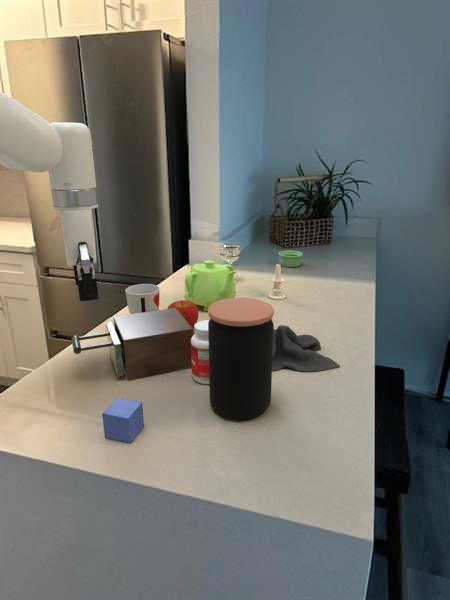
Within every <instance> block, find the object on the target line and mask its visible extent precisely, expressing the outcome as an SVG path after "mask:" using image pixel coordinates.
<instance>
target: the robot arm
mask: <svg viewBox="0 0 450 600" xmlns="http://www.w3.org/2000/svg"><path fill="white" fill-rule="evenodd" d="M93 151H94V150H93V141H92V135H91V130H90V128H89V127H88V126H87V125H86V124H84V123H81V122H51V123H50V122H48V121H47V120H46V119H44V118H43V117H42V116H40V115H39V114H37V113H36V112H34V111H33V110H31V109H29V108H27V106H24V105H23V104H22V103H20V102H19V101H17V100H16V99H14V98H12V97H10V95H8V94H6V93H4V92H2V91H1V90H0V165H1V166H3V167H5V168H7V169H9V170H11V171H12V170H13V171H18V172H31V173H45V172H46V173H47V172H48V179H49V185H50V193H51V198H52V199H51V201H52V207H53V210H56V211H60V223H61V224H60V225H61V233H62V239H63V247H64V255H65V260H66V264H67V266H68V267H69V268H73V273H74V274H73V275H74V281H75V285H76V286H77V291H78V299H79V301H80V302H88V301H96V300H98V299H99V290H98V282H97V277H96V274H95V273H96V272H95V267H94V265H96V264H97V248H96V235H95V234H96V233H95V225H94V215H93V209H97V208H99V199H98V198H99V197H98V189H97V181H96V171H95V170H96V169H95V161H94V160H95V159H94V152H93Z"/></svg>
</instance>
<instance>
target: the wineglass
mask: <svg viewBox="0 0 450 600" xmlns="http://www.w3.org/2000/svg"><path fill="white" fill-rule="evenodd" d="M219 248H220V250H219V254H220V258H221V259H222V260H223V261H225V262H227V263H228V265H230V266H232V265H233V263H234V262H236V261H237V260H238V259H240V257H241V255H242V251H241V244H238V243H237V244H236V243H226V244H225V243H224V244H221V245H219ZM232 267H233V266H232ZM233 280H234V283H235V285H236V284H238V283H239V281H238V280H236V279H233Z"/></svg>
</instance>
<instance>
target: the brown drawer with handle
mask: <svg viewBox="0 0 450 600" xmlns="http://www.w3.org/2000/svg"><path fill="white" fill-rule="evenodd" d="M105 326H106V332H101V333H95V334H87V335H82V336H79V335H77V334H74V335H72V336H71V344H72V345H71V346H72V351H73V353H74V354H75V355H79V354H81V353H82V352H84V351H85V352H86V351H89V350H96V349H97V350H98V349H103V348H108V353H109V355H110V358H111V361H112V364H113V368H114V370H115V374H116V376H117V377H123V376H124V375H125V373H124V370H123V362H122V353H123V355H124V344H123V340H122V338H121V336H120V341H121V343H120V341H119V338H118V336H117V333H116V331H115V327H114V323H113V322H112V321H110V322H106V323H105ZM104 337H107V342H103V343H97V344H91V345H85V346H81V343H80V342H81V341H85V340H92V339H98V338H104ZM121 350H122V351H121ZM124 358H125V355H124Z"/></svg>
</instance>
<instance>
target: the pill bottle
mask: <svg viewBox="0 0 450 600" xmlns="http://www.w3.org/2000/svg"><path fill="white" fill-rule="evenodd" d="M209 320H210V319H207V320H206V319H205V320H200V321H197V323H196V324H195V325H194V330H193V336H192V338H191V359H192V368H191V377H192V379H193V380H194V381H195V382H197V383H200V384H203V385H209V338H208V322H209Z"/></svg>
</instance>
